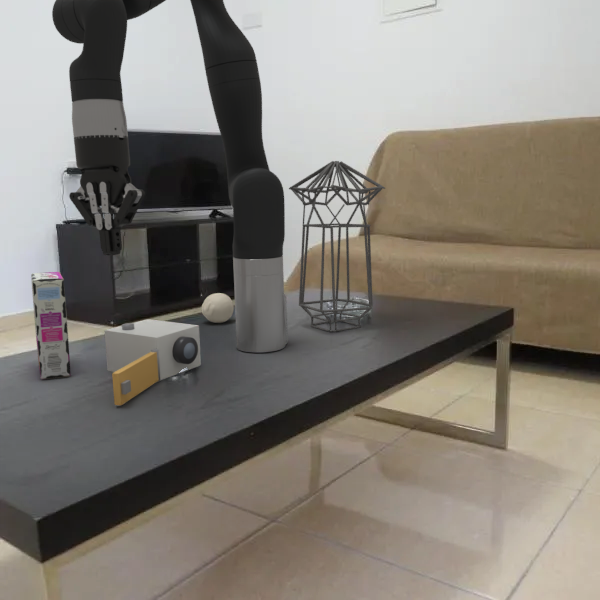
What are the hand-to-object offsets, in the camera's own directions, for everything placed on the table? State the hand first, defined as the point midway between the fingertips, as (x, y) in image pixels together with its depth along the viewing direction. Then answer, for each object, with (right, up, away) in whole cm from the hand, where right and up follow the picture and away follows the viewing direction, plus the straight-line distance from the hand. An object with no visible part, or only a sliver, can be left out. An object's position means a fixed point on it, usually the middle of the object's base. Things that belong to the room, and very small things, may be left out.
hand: (112, 254), depth 96 cm
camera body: (+3, -18, +14) cm, 23 cm away
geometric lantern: (+36, -13, +43) cm, 58 cm away
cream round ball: (+9, -12, +50) cm, 52 cm away
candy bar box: (-14, -19, +14) cm, 27 cm away
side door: (+4, -21, 0) cm, 21 cm away
